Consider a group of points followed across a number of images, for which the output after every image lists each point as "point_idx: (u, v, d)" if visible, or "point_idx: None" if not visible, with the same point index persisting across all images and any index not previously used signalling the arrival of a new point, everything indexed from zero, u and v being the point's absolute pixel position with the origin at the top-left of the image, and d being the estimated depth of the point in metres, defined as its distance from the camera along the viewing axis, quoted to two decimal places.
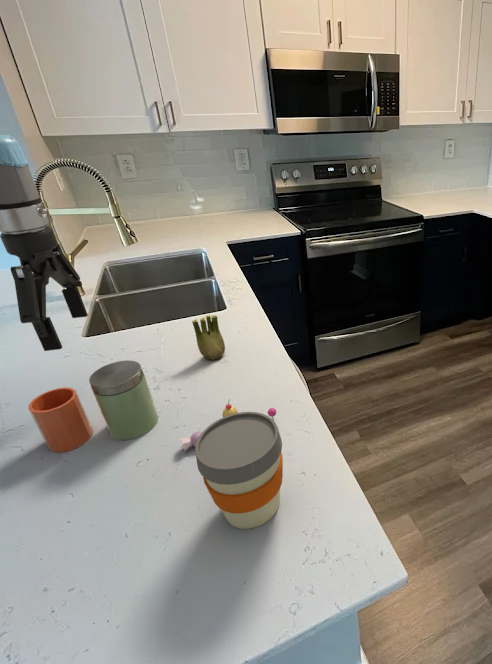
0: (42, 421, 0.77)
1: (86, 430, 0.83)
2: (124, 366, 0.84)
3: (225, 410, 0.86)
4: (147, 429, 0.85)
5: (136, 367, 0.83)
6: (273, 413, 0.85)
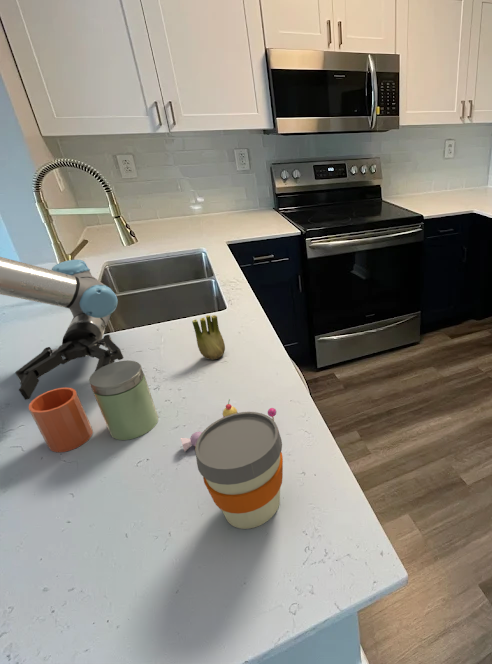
0: (42, 421, 0.77)
1: (86, 430, 0.83)
2: (124, 366, 0.84)
3: (225, 410, 0.86)
4: (147, 429, 0.85)
5: (136, 367, 0.83)
6: (273, 413, 0.85)
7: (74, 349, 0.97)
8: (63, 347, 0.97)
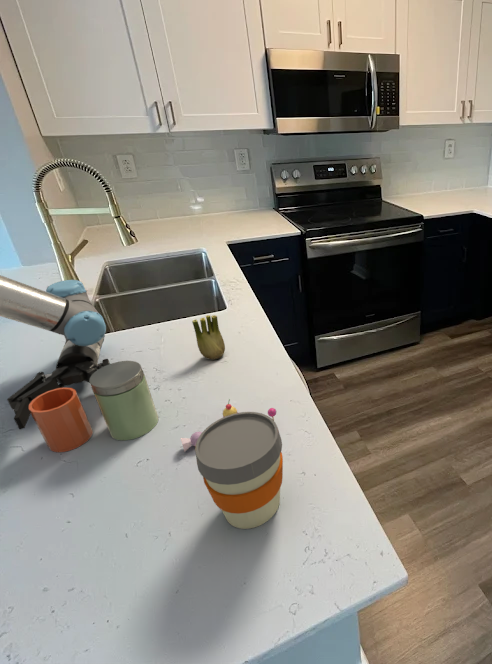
0: (42, 421, 0.77)
1: (86, 430, 0.83)
2: (124, 366, 0.83)
3: (225, 410, 0.86)
4: (147, 429, 0.85)
5: (136, 367, 0.83)
6: (273, 413, 0.85)
7: (71, 374, 0.92)
8: (58, 372, 0.91)
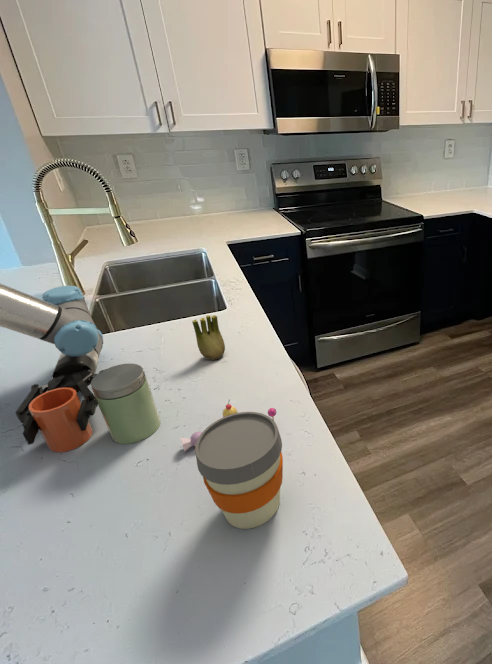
0: (42, 421, 0.77)
1: (86, 430, 0.83)
2: (124, 369, 0.83)
3: (225, 410, 0.86)
4: (152, 430, 0.85)
5: (137, 369, 0.83)
6: (273, 413, 0.85)
7: (67, 384, 0.89)
8: (55, 382, 0.88)
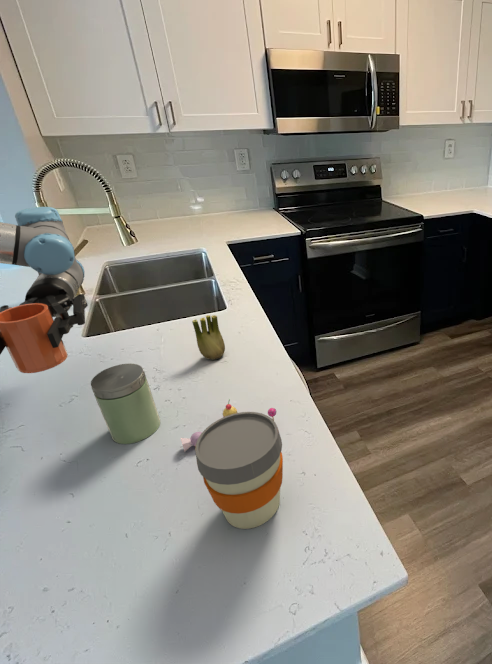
0: (8, 334, 0.69)
1: (60, 352, 0.75)
2: (124, 369, 0.83)
3: (225, 410, 0.86)
4: (152, 430, 0.85)
5: (137, 369, 0.83)
6: (273, 413, 0.85)
7: None
8: (26, 303, 0.80)
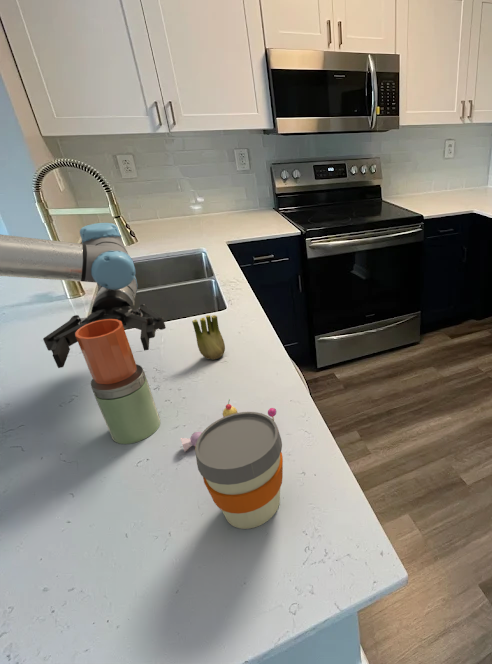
0: (90, 349, 0.75)
1: (132, 364, 0.81)
2: None
3: (225, 410, 0.86)
4: (152, 430, 0.85)
5: (137, 369, 0.83)
6: (273, 413, 0.85)
7: (108, 317, 0.86)
8: (95, 315, 0.85)
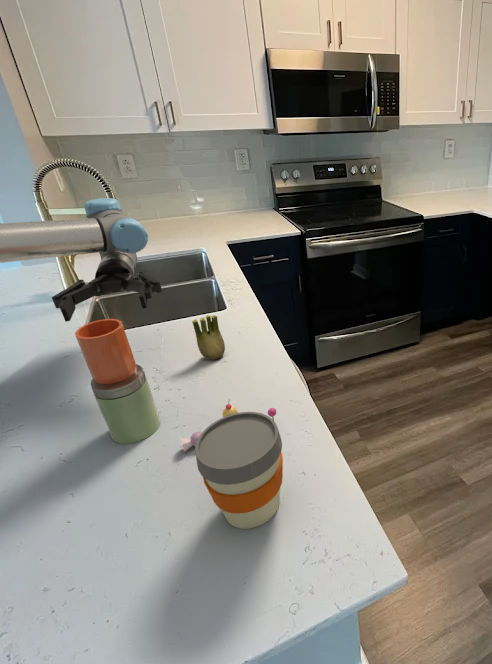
0: (90, 349, 0.75)
1: (132, 364, 0.81)
2: None
3: (225, 410, 0.86)
4: (152, 430, 0.85)
5: (137, 369, 0.83)
6: (273, 413, 0.85)
7: (110, 281, 0.94)
8: (98, 279, 0.94)
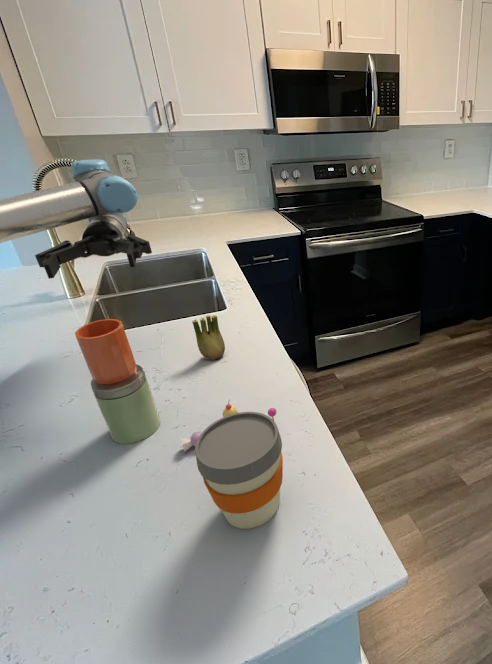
0: (90, 349, 0.75)
1: (132, 364, 0.81)
2: None
3: (225, 410, 0.86)
4: (152, 430, 0.85)
5: (137, 369, 0.83)
6: (273, 413, 0.85)
7: (97, 242, 0.90)
8: (85, 239, 0.90)
